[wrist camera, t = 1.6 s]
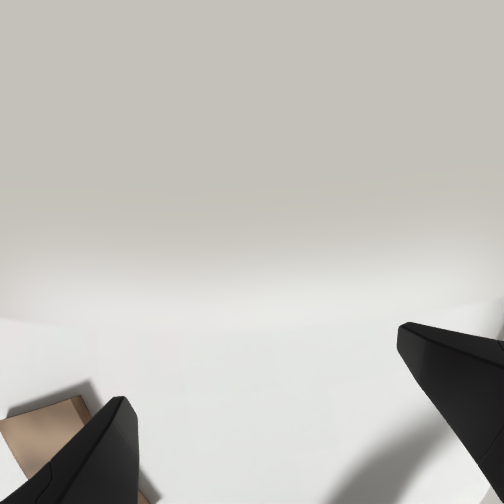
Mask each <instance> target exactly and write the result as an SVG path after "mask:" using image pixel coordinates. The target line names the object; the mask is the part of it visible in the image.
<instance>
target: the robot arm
mask: <svg viewBox="0 0 504 504" xmlns="http://www.w3.org/2000/svg"><path fill="white" fill-rule="evenodd" d="M397 350H398V352H399V354H400V356H401V357H402V359H403V360H404V362H405V364H406V365H407V367H408V368H409V370H410V372H411V373H412V375H413V377H414V378H415V380H416V381H417V383H418V384H419V386H420V387H421V388H422V390H423V391H424V392H425V394H426V395H427V396H428V397H429V399H430V400H431V401H432V403H433V404H434V405H435V407H436V408H437V409H438V411H439V412H440V413H441V415H442V416H443V417H444V419H445V420H446V421H447V423H448V424H449V425H450V427H451V428H452V429H453V431H454V432H455V434H456V435H457V436H458V438H459V439H460V441H461V442H462V443H463V445H464V446H465V448H466V449H467V450H468V452H469V453H470V455H471V456H472V458H473V459H474V460H475V462H476V463H477V464H478V467H479V468H480V469H481V471H482V472H483V474H484V475H485V477H486V478H487V480H488V481H489V483H490V484H491V486H492V487H493V489H494V490H495V492H496V494H497V495H498V497H499V498H500V500H501V501H502V502H503V503H504V341H500V340H497V341H496V340H495V339H489V338H484V337H479V336H474V335H469V334H464V333H459V332H454V331H450V330H445V329H440V328H436V327H431V326H426V325H422V324H417V323H413V322H407V323H405V324H402V325H400V326H399V328H398V336H397ZM138 479H139V440H138V418H137V415H136V413H135V411H134V409H133V408H132V406H131V404H130V403H129V401H128V399H127V398H126V397H125V396H117V397H113V398H112V399H111V400H110V401H109V402H108V403H107V404H106V405H105V406H104V407H103V408H102V409H101V410H100V411H99V412H98V413H97V414H96V415H95V416H94V417H93V418H92V419H91V420H90V421H89V422H88V423H87V424H86V425H85V426H84V427H83V428H82V429H81V430H80V431H79V432H77V433H76V434H75V435H74V436H73V437H72V438H71V439H70V440H69V441H68V442H67V443H66V444H65V445H64V446H63V447H62V448H61V449H60V450H59V451H58V452H57V453H56V454H55V455H54V456H53V457H52V458H51V459H50V461H48V462H47V463H46V464H45V465H44V466H43V467H42V468H41V469H40V470H39V471H38V472H37V473H36V474H35V475H34V476H33V477H31V478H30V479H29V480H28V481H27V482H25V483H24V484H23V485H22V486H20V487H19V488H18V489H17V490H15V491H14V492H13V493H12V494H10V495H9V496H8V497H6V498H5V499H4V500H3V501H1V502H0V504H138Z"/></svg>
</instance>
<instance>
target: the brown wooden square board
mask: <svg viewBox="0 0 504 504" xmlns="http://www.w3.org/2000/svg"><path fill="white" fill-rule="evenodd" d="M91 419H92V417H91V415H90V413H89V411H88V409H87V407H86V405H85V403H84V401H83V399H82V397H81V395H78V396H75V397H73V398H70V399H67V400H64V401H61V402H58V403H55V404H52V405H49V406H46V407H43V408H39V409H36V410H33V411H30V412H26V413H23V414H20V415H16V416H13V417H9V418H6V419H3V420H0V432H1V434H2V436H3V438H4V439H5V441H6V443H7V445H8V447H9V449H10V451H11V452H12V454H13V456H14V458H15V459H16V461H17V463H18V464H19V466H20V468H21V469H22V471H23V473H24V474H25V476H26V477H27V479H28V480H29V479H30V478H31V477H33V476H34V475H35V474H36V473H37V472H38V471H39V470H40V469H41V468H42V467H43V466H44V465H45V464H46V463H47V462H48V461H50V459H51V458H52V457H53V456H54V455H55V454H56V453H57V452H58V451H59V450H60V449H61V448H62V447H63V446H64V445H65V444H66V443H67V442H68V441H69V440H70V439H71V438H72V437H73V436H74V435H75V434H76V433H77V432H79V431H80V430H81V429H82V428H83V427H84V426H85V425H86V424H87V423H88V422H89V421H90V420H91ZM138 504H150V503H149V502H148V501H147V499H146V498H145V497H144V496H143V494H142V493H141V492H140V491H139V489H138Z"/></svg>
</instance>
